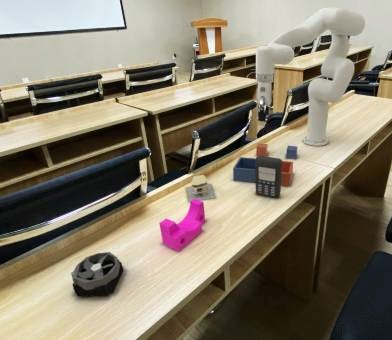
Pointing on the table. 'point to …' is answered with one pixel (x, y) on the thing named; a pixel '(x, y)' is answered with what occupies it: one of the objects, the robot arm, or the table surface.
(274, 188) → the card reader
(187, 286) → the table surface
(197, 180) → the stacked layers on plate
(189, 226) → the toy block
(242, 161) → the slate bin
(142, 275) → the table surface
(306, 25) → the robot arm
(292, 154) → the slate block
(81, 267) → the cpu cooler
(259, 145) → the terracotta block
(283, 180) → the terracotta bin
